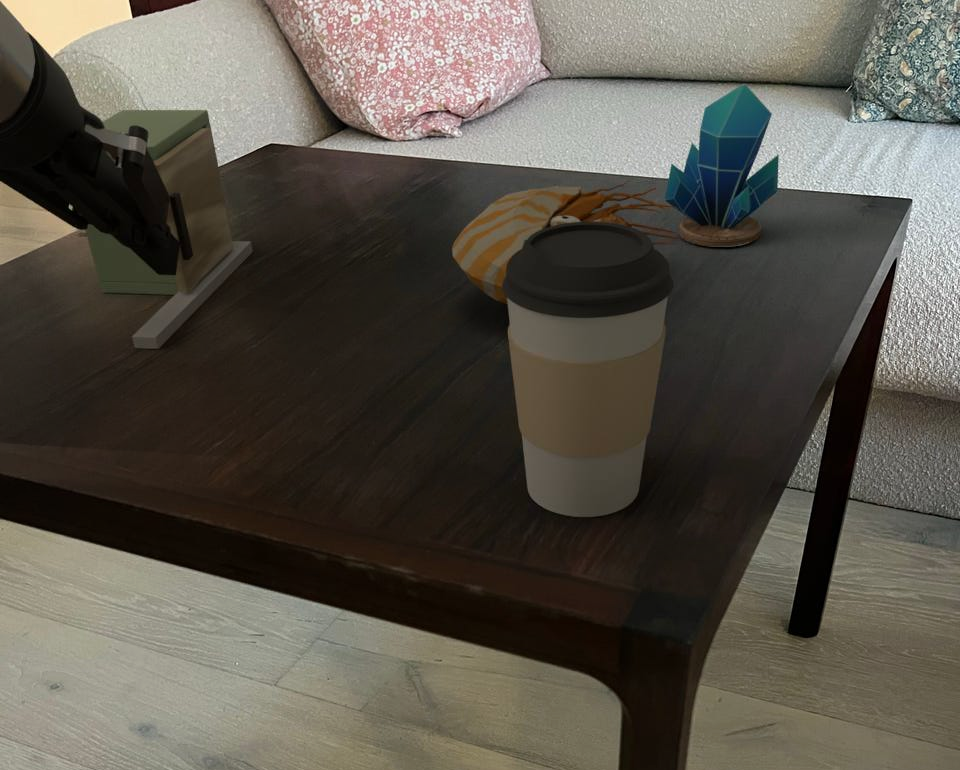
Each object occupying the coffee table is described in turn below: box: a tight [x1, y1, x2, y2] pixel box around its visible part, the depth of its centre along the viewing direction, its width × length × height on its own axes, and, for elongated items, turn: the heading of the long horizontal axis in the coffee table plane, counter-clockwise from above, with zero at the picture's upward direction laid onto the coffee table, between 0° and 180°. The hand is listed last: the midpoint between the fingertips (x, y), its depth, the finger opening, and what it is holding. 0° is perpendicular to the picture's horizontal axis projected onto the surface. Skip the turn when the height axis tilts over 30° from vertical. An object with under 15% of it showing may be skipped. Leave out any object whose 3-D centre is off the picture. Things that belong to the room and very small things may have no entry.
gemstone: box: [663, 83, 780, 247], centre depth 91 cm, size 7×9×12 cm
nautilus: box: [451, 179, 682, 306], centre depth 84 cm, size 8×22×15 cm
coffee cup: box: [502, 222, 675, 518], centre depth 59 cm, size 9×9×15 cm
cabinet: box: [84, 109, 254, 350], centre depth 87 cm, size 10×22×12 cm, turn 169°
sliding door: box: [154, 128, 233, 292], centre depth 88 cm, size 1×10×10 cm, turn 169°
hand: (169, 258), depth 84 cm, fingers closed
